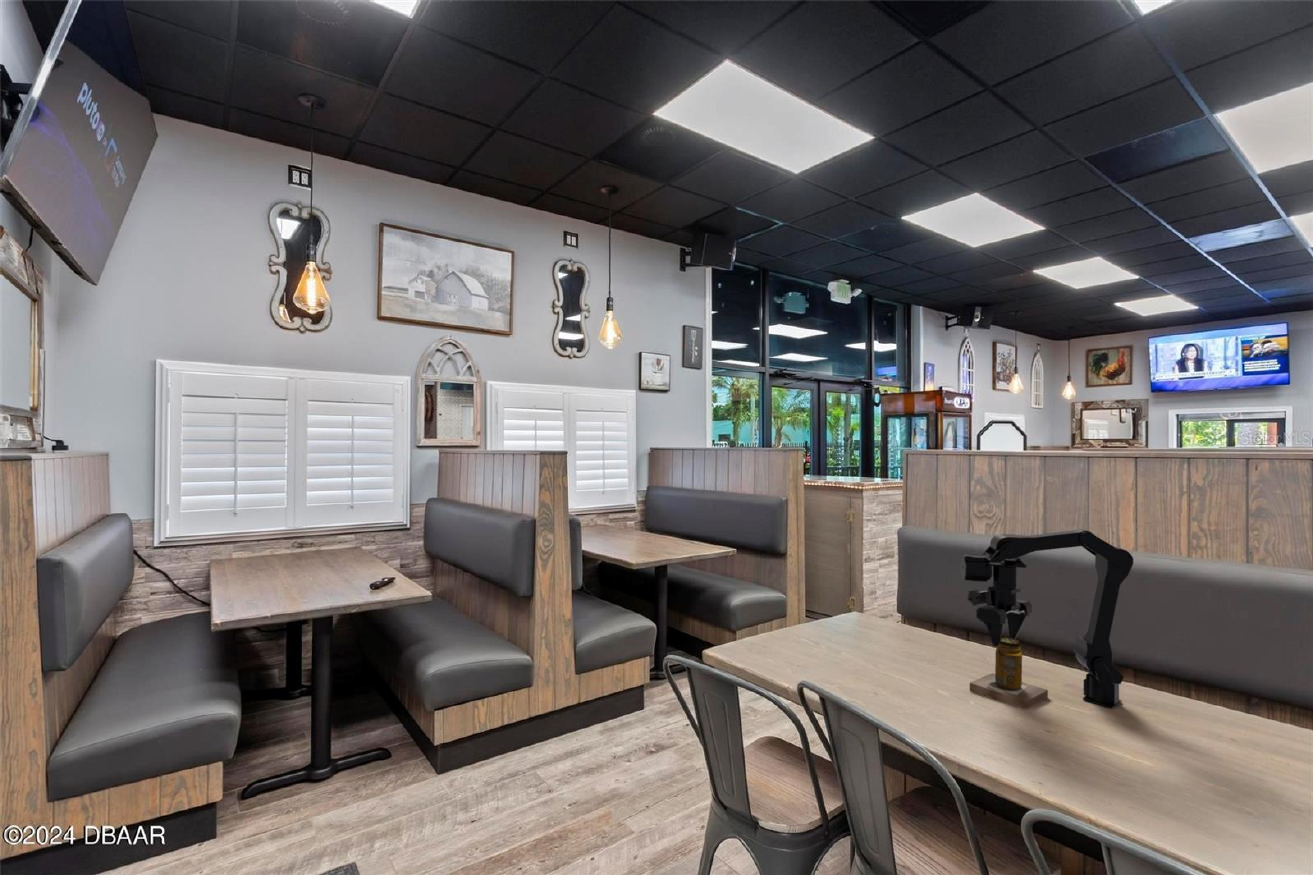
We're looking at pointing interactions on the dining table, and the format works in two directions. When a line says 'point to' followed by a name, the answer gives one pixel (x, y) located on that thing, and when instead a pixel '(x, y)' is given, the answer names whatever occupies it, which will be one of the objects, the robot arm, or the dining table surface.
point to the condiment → (1008, 667)
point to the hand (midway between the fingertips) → (1004, 642)
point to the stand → (1023, 699)
